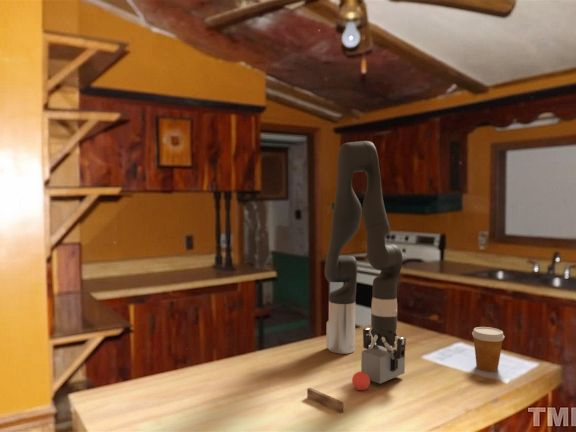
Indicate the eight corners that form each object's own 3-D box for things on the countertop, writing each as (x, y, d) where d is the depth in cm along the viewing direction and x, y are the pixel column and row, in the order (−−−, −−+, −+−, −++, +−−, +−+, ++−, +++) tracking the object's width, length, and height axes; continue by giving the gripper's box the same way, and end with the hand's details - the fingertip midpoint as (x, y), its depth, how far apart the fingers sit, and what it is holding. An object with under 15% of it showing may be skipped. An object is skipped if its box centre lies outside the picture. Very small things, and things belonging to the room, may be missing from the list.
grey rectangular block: (361, 376, 143) (361, 351, 142) (385, 366, 151) (386, 342, 150) (380, 383, 138) (380, 357, 137) (404, 373, 146) (405, 348, 145)
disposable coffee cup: (502, 364, 158) (503, 328, 157) (504, 375, 149) (506, 336, 148) (470, 361, 161) (471, 325, 160) (471, 371, 152) (472, 333, 151)
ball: (360, 369, 141) (357, 387, 140) (350, 369, 137) (346, 387, 137) (374, 374, 137) (371, 392, 137) (365, 374, 134) (361, 392, 133)
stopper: (307, 397, 132) (307, 388, 131) (309, 396, 132) (310, 387, 132) (340, 413, 123) (340, 403, 123) (343, 411, 123) (343, 402, 123)
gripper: (357, 309, 146) (356, 363, 147) (397, 319, 135) (396, 377, 136) (372, 305, 151) (371, 358, 152) (412, 314, 140) (411, 371, 141)
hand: (383, 367), depth 144 cm, fingers closed on grey rectangular block, 7 cm apart
